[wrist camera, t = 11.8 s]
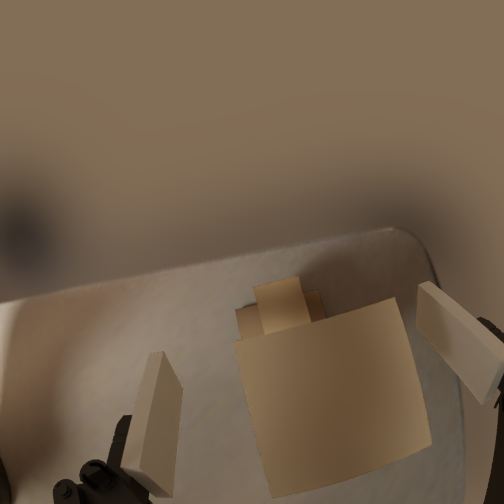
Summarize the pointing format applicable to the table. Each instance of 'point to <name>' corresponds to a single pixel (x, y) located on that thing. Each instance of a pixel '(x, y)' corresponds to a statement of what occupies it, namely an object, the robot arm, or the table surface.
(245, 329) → the ridge
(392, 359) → the block
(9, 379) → the table surface
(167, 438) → the robot arm
